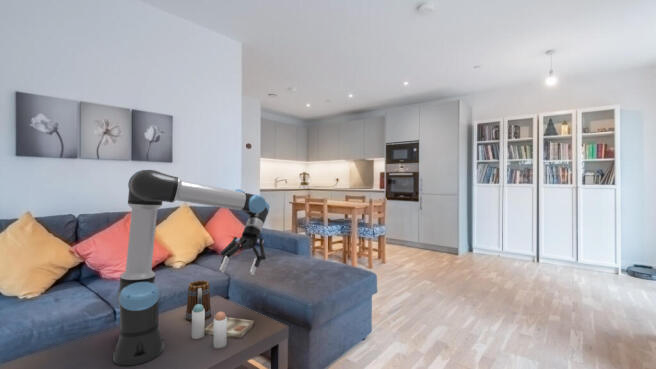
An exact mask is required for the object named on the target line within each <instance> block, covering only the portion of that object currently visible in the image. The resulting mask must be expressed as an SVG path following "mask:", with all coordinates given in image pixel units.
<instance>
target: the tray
mask: <svg viewBox="0 0 656 369" xmlns="http://www.w3.org/2000/svg"><path fill="white" fill-rule="evenodd" d="M226 317H227V316H226ZM255 325H256V324H255V320H251V319H244V318H238V317H237V318H236V317H227V338H232V339H239V340H241V339H242V338H243V337H244V336H245V335H246V334H247V333H248V332H249V331H250V330H251V329H252V328H254V326H255ZM204 335H209V336H214V321H213V322H211V323H210V324H209V325H207V326H205V332H204Z"/></svg>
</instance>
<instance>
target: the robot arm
mask: <svg viewBox="0 0 656 369" xmlns="http://www.w3.org/2000/svg"><path fill="white" fill-rule="evenodd" d="M127 186H128V196H127V197H128V198H127V205H128V206H129V207H130V208H131V215H130V224H129V235H128V236H129V237H128V243H127V244H128V245H127V254H126V263H125V264H126V266H125V271H124V272H122V273H121V275H120V277H119V278H120V279H119V285H118V288H117V289H118V290H117V293H116V294H117V296H116V298H117V301H118V306H119V307H118V308H119V336H118V339H117V342H116V346H115V348H114V350H113V362H114V364H116V365H119V366H123V367H124V366H126V367H127V366H136V365H140V364H144V363H147V362H149V361H152V360H154V359H155V358H158V356H160V355H161V354H162V353H163V351H164V348H165V342H164V339H163V337H162V334H161V331H160V328H159V327H160V326H159V318H160V317H159V316H160V314H159V312H160V310H159V309H160V308H159V304H160V302H159V301H160V300H159V298H160V291H159V290H160V289H159V286H158V285H157V284H156V273H155V272H154V271H153V270H152V267H153V256H154V249H155V247H154V246H155V238H156V228H157V226H156V225H157V217H158V216H157V215H158V209H160V208H161V207H162V206H163V202H167V203H172V204H173V203H175V202H177V201H178V202H185V203H190V204H191V203H192V204H197V205H198V204H199V205H202V206H203V205H204V206H205V205H206V206H211V207H217V208H225V209H231V210H236V211H242V212H243V213H244V214H246V215H247V216H248V219H247V221H246V223H245V227H244V228H243V231H242V233H241V234H242V235H241V237H239V238H238V237H237V236H234V237H233V238H232V240H231V242H230V243H229V244H227V245H226V247H225V248H224V249H223V250H221V251H220V255H221V257H222V259H221V261H220V264H221V265H220V268H219V271H220V272H221V273H222V274H224V273H225V270H226V269H227V266H228V263H229V262H230V258H231V257H232V256H233V255H234V254H236V253H237V252H238V251H241V250H242V249H248V250H251V249H252V250H253V252H254V254H255V256H256V257H254V259H253V262H252V265H251V267H250V271H249V273H250V274H251V276H254V275H255V274H256V270H257V268H258V267H260V263H261V261H265V260H267V258H266V251H265V247H264V244H265V240H264V239H263V237H260V236H261V234H262V230H263V228H264V225H265V222H266V219H267V217H268V215H269V213H270V212H269V211H270V204H269V203H268V201H266V199H265V197H263V196H262V195H259V194H253V193H248V192H245V191H244V190H243V189H239V188H237V189H235V190H232V189H227V188H221V187H216V186H211V185H206V184H201V183H196V182H191V181H186V180H181V179H180V176H179V177H178V176H174V175H170V174H166V173H163V172H160V171H158V170H155V169H141V170H138V171H136V172H135V173H134V174H132V175H131V177H130V178H129V180H128V184H127ZM257 244H258V245H259V250H260V253H259V251H258V250H257V248H256V245H257Z"/></svg>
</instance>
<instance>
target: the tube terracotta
mask: <svg viewBox="0 0 656 369" xmlns="http://www.w3.org/2000/svg"><path fill="white" fill-rule="evenodd" d="M213 322H214V335H213V343H212V344H213V348H214V349H223V348H225V347H227V344H228V340H227V338H228V337H227V316H226V313H225V312H224V311H218V312H217V313H215V315H214V317H213Z"/></svg>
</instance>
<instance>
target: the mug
mask: <svg viewBox="0 0 656 369" xmlns="http://www.w3.org/2000/svg"><path fill="white" fill-rule="evenodd" d="M210 293H211V289H210V281H207V280H204V279H203V280H195V281H192V282H190V283H189V284H188V289H187V302H186V311H185V319H186V320H187V321H189V322H192V310H193V308H194V306H195V305H197V304H201V305H203V307H204V309H205V320H207V319H208V318H210V317H211V314H212V308H211V295H210Z"/></svg>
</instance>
